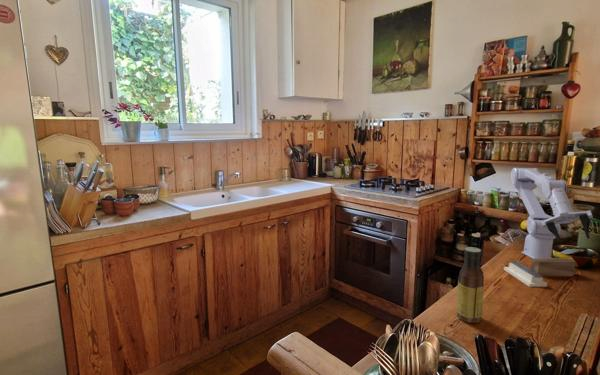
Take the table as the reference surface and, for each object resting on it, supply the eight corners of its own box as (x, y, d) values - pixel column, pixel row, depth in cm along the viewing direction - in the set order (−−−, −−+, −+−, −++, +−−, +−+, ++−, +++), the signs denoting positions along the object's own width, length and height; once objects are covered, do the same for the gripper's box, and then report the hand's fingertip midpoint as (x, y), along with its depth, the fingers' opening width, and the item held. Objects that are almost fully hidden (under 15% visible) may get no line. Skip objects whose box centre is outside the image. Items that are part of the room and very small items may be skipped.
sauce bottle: (475, 312, 97) (482, 245, 93) (485, 325, 90) (493, 253, 87) (451, 311, 97) (457, 244, 94) (459, 323, 91) (466, 252, 88)
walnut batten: (530, 272, 125) (532, 258, 124) (565, 272, 125) (567, 258, 124) (537, 276, 121) (539, 262, 120) (573, 276, 122) (575, 262, 121)
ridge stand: (503, 269, 127) (504, 260, 126) (519, 269, 127) (520, 260, 126) (529, 286, 113) (530, 276, 112) (547, 286, 113) (548, 276, 113)
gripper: (535, 207, 127) (546, 238, 119) (583, 195, 119) (599, 228, 110) (540, 216, 131) (551, 247, 123) (587, 205, 123) (602, 238, 114)
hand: (574, 239), depth 117 cm, fingers open, 7 cm apart
